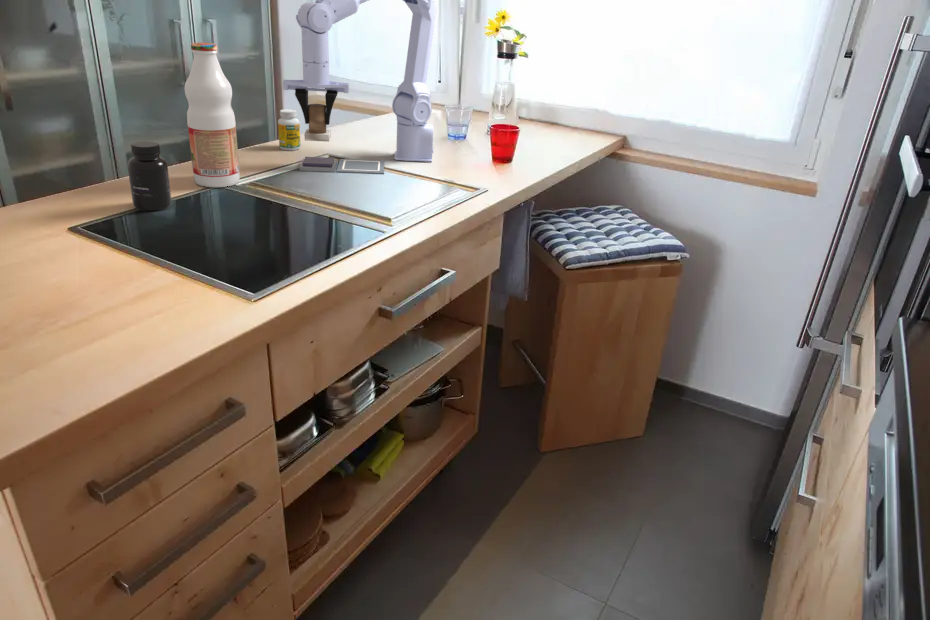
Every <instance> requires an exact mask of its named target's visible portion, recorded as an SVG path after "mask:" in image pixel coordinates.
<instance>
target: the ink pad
mask: <svg viewBox="0 0 930 620" xmlns="http://www.w3.org/2000/svg"><path fill="white" fill-rule="evenodd" d="M337 165H338V160H337V159H335V157H324V156H323V157H321V156H305V157H304V158H302V161H301V163H300V165H299V171H300V172H301V171H303V172H304V171H305V172H320V173H321V172H325V173H335V172H336V170H337V169H336V168H337V167H338V166H337Z"/></svg>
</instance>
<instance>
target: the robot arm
mask: <svg viewBox="0 0 930 620" xmlns="http://www.w3.org/2000/svg"><path fill="white" fill-rule="evenodd" d="M368 1H370V0H315V1H314V2H311V1H307V2H304V3H302V4H301V6H300V8H298V12H297V14H296V15H295V20H296V22H297V24H298V26H299V27H300V29H301V51H302V52H301V56H302V78H303V79H284V80H282V86H283V87H282V88H283V91H289V90H290V91H291V90H292V91H294V96H295V98H296V100H297V102H298V104H299V106H300V108H301V111H302V115H303V117H304V123H305V125H309V118H308V105H309V91H310V92H311V91H313V92H325V95H324V96H325V98H324V99H325V105H326V126H328V125H330V123H331V121H330V120H331V113H332V110H333V106H334V103H335V100H336V98H337V96H338V93H344V94H349V93H350V83H349V82H338V81H330V67H329V66H330V62H329V60H330V59H329V54H330V53H329V31H330V30H331V28H332V27H333V25H334V24H337V23H338V22H340V21H343V20H345V19H347V18H348V17H351V16H352V15H355V14H357V12H358V9H359V6H360V5H362V4H364V3H366V2H368ZM402 1H403V2H404V3H405V4H406V6H407V7H408V8H409V10H410V11H411V13H412V17H411V25H410V33H409V39H408V47H407V48H408V49H407V53H406V61H405V70H404V77H403V81H402V82H401V83H400V84H399V85H398V87H397V91H396V95H395V97H394V98H393V100H392V104H391V105H392V106H391V107H392V109H391V110H392V112H393V113H394V115H395V117H396V150H395V151H394V160H395V161H407V162H408V161H409V162H427V163H428V162H429V163H430V162H431V163H432V162H433V154H434V146H433V145H434V124H433V123H427V122H428V121H429V119H430V118H431V115H432V104H431V97H432V96H431V93H430V90H429V89H428V86H427V85H426V84H427V77H428V73H429V72H428V71H429V64H430V59H431V58H430V57H431V49H432V43H433V38H434V37H433V36H434V29H435V22H436V17H437V2H436V0H402Z"/></svg>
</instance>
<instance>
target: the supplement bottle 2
mask: <svg viewBox="0 0 930 620" xmlns="http://www.w3.org/2000/svg"><path fill="white" fill-rule="evenodd" d="M279 116H280V118H279V119H278V120H277V126H278V127H277V128H278V129H277V131H278V142H279V143H278V145H279V149H281V150H282V151H298V150H300V149H301V129H300V128H301V126H300V121H299V119H298V118H296V117H297V110H295V109H290V108H289V109H287V108H286V109H280V110H279Z"/></svg>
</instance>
